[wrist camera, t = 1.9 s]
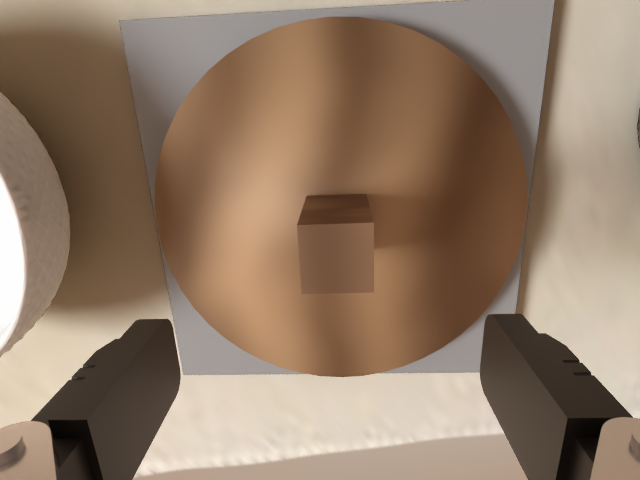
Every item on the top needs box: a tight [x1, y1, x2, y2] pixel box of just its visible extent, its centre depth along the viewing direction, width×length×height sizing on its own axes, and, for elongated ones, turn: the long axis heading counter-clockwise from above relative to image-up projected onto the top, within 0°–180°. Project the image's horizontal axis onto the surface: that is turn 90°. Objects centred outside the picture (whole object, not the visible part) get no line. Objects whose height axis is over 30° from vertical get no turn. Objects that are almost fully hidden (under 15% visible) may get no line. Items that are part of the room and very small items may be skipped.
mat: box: [119, 0, 555, 375], centre depth 23 cm, size 20×20×1 cm
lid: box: [155, 17, 528, 377], centre depth 19 cm, size 19×19×6 cm
